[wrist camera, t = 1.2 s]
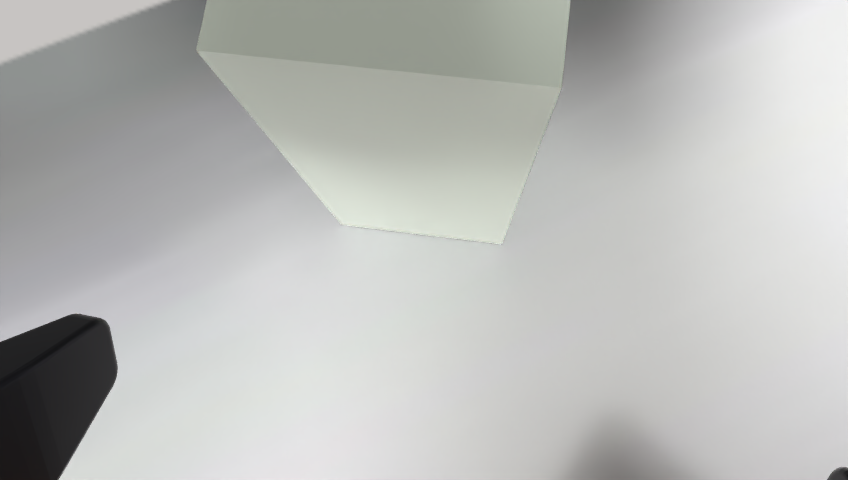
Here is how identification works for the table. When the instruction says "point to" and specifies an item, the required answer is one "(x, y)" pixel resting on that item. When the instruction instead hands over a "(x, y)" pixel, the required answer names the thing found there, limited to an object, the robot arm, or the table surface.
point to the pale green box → (398, 101)
